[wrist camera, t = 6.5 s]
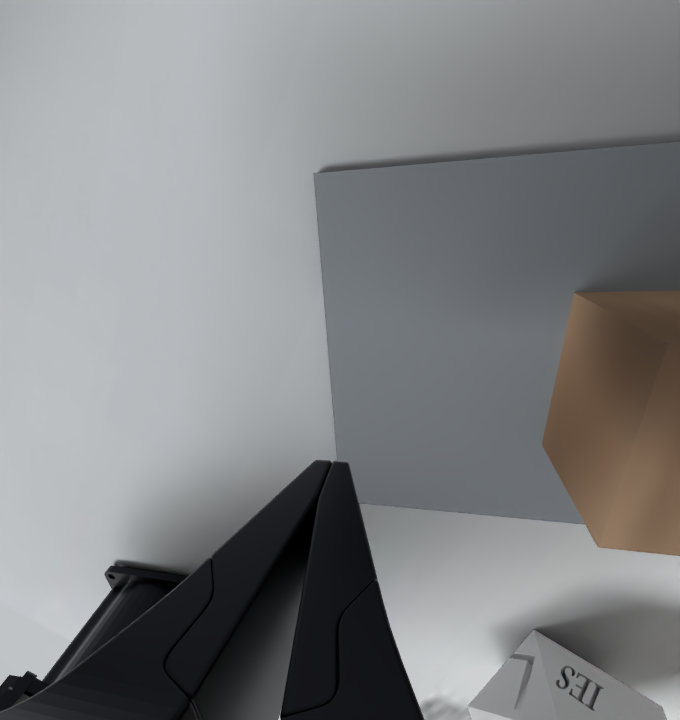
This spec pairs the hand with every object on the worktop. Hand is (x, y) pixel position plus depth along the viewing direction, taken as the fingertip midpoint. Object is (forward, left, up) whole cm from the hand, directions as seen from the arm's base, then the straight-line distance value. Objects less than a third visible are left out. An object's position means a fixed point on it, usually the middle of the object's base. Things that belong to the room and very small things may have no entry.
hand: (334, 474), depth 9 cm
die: (+10, -18, -6) cm, 21 cm away
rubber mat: (+7, 0, -6) cm, 9 cm away
